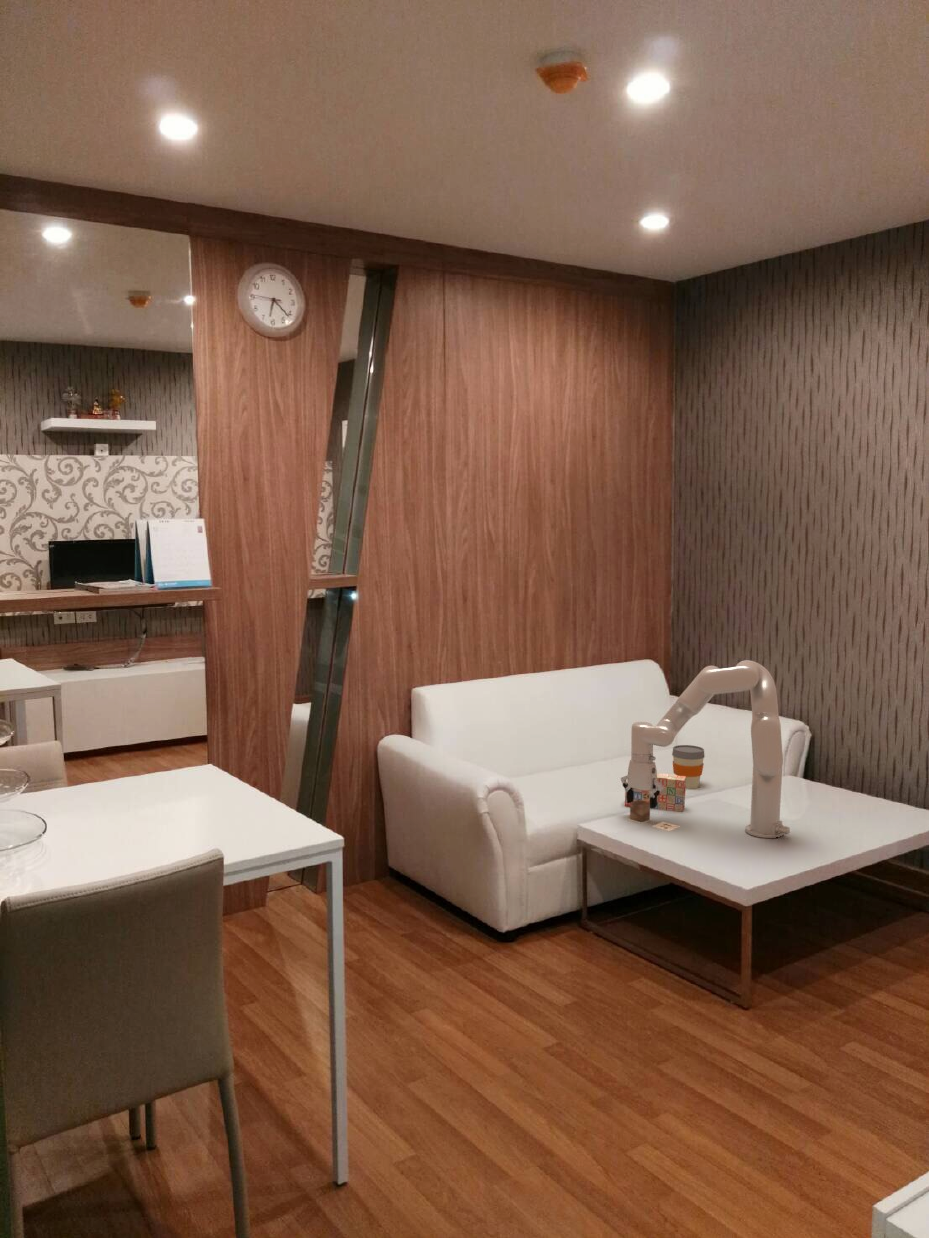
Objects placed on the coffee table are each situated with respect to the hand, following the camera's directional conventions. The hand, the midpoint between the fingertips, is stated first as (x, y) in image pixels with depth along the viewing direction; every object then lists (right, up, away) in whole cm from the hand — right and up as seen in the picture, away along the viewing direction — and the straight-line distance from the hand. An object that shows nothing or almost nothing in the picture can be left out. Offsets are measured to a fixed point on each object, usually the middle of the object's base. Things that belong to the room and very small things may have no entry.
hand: (641, 804), depth 357 cm
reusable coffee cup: (+26, -1, +44) cm, 51 cm away
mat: (+3, -6, -3) cm, 7 cm away
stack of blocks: (+8, -4, +16) cm, 18 cm away
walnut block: (-1, -5, +1) cm, 5 cm away
